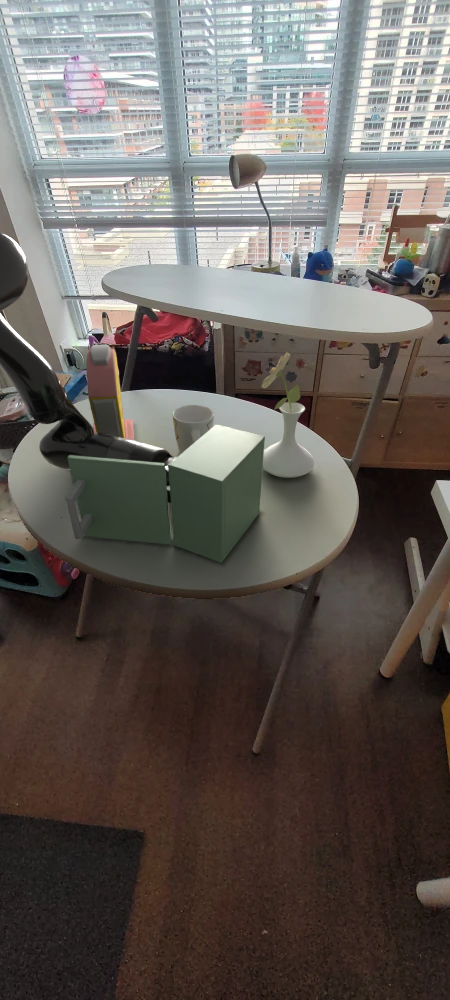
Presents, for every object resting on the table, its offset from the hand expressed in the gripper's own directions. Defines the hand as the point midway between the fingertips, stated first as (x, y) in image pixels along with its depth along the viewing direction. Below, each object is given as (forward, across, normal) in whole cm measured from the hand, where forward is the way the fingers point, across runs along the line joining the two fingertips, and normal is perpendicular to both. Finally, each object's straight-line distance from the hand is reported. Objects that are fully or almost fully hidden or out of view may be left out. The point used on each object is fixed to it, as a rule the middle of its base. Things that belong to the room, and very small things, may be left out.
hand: (223, 490), depth 74 cm
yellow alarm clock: (-36, +15, +9) cm, 40 cm away
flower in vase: (+2, +23, +9) cm, 25 cm away
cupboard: (-1, 0, +8) cm, 9 cm away
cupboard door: (-12, -12, +8) cm, 19 cm away
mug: (-16, +18, +9) cm, 26 cm away
